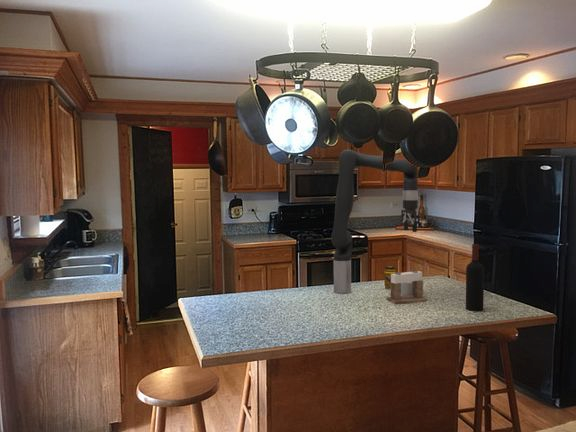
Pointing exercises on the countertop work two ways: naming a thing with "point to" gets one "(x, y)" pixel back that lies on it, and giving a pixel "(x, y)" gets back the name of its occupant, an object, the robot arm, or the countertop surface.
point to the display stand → (402, 299)
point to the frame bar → (406, 277)
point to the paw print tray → (406, 288)
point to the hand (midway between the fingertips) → (410, 230)
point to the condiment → (388, 276)
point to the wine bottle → (474, 282)
